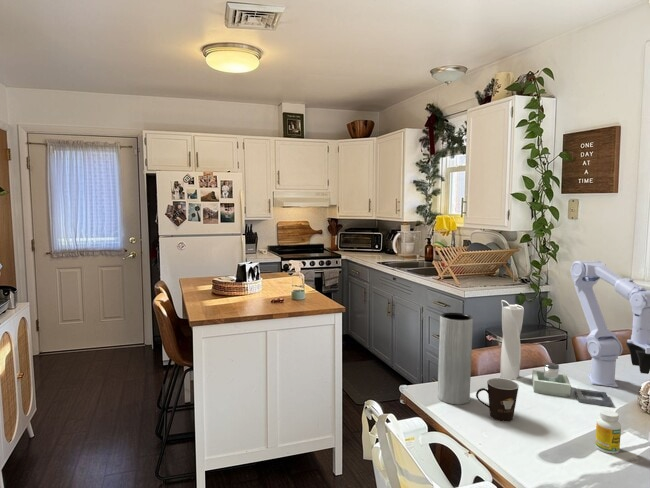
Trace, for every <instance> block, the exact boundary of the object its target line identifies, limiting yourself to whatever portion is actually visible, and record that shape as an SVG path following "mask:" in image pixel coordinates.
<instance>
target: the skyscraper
mask: <svg viewBox="0 0 650 488" xmlns="http://www.w3.org/2000/svg"><path fill="white" fill-rule="evenodd" d="M500 301H501V302H500V303H501V329H502V340H501V347H500V369H499V370H500V373H499V374H500V377H499V378H502V379H507V380H512V381H513V380H514V381H517V380H518V378H519V377H520V372H521V371H520V369H521V360H522V359H521V357H522V353H521V352H522V348H521V347H522V345H521V339H520V337H521V332H522V329H523V321H524V313H525V309H524V306H522V305H519V304H516V303H515V304H510V303H509V302H508V301H507V300H505V299H504V300H503V299H501V300H500ZM503 303H506V304H507V306H504V304H503Z"/></svg>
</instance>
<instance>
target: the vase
mask: <svg viewBox="0 0 650 488" xmlns="http://www.w3.org/2000/svg"><path fill="white" fill-rule="evenodd" d="M473 323H474V320H473V316H472V315H470V314H466V313H464V312H463V313H462V312H444V313H441V314H440V316H439V339H438V342H439V343H438V344H439V345H438V367H437V368H438V369H437V373H438V374H437V398H438V400H440V401H442V402H443V403H446V404H450V405H465V404H467V403H469V402H470V400H471V399H470V397H471V396H470V395H471V375H472V369H471V368H472V351H473V350H472V348H473V326H474V325H473Z"/></svg>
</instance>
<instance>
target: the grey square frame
mask: <svg viewBox="0 0 650 488" xmlns="http://www.w3.org/2000/svg"><path fill="white" fill-rule="evenodd" d="M574 393H575V395H576V399H577V401H578V402H579V403H580V404H581V403H582V404H590V405H596V406H604V407H609V408H611V407H612V401H611V399H610V398H609V396H608V393H607V392H605V391H600V390H599V391H598V390H590V389H583V388H576V387H574ZM585 395H586V396H593V397H599V398H601V399H597V398H589V397H584V396H585Z"/></svg>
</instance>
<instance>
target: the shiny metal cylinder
mask: <svg viewBox="0 0 650 488" xmlns="http://www.w3.org/2000/svg"><path fill="white" fill-rule="evenodd" d="M543 369H544V370H543V371H544V381H550V382H558V374H559V373H560V371H559V370H560V365H559V364H557V363H554V362H544V367H543Z"/></svg>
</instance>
